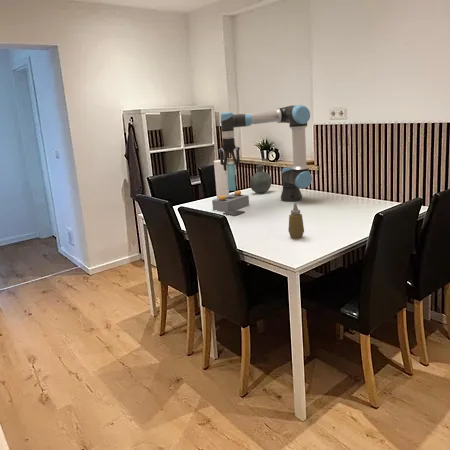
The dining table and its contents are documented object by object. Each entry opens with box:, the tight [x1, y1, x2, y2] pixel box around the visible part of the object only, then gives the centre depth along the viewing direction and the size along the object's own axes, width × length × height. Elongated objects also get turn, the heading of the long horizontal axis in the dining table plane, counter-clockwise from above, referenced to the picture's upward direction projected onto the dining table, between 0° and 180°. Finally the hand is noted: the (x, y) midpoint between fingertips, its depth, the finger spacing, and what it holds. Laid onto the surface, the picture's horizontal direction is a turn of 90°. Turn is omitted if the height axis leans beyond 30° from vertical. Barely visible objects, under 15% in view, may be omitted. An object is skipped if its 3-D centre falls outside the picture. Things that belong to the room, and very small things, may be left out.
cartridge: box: [226, 160, 237, 192], centre depth 280 cm, size 5×5×18 cm
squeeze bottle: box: [288, 202, 305, 240], centre depth 225 cm, size 8×8×18 cm
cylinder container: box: [213, 159, 230, 199], centre depth 326 cm, size 9×9×30 cm
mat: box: [222, 209, 246, 217], centre depth 287 cm, size 10×10×1 cm
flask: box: [249, 164, 272, 194], centre depth 340 cm, size 12×17×22 cm
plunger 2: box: [234, 190, 242, 196], centre depth 308 cm, size 5×5×9 cm
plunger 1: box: [219, 195, 226, 201], centre depth 297 cm, size 5×5×9 cm
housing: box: [211, 193, 250, 213], centre depth 303 cm, size 14×22×7 cm, turn 138°
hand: (231, 175), depth 280 cm, fingers closed on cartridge, 5 cm apart
